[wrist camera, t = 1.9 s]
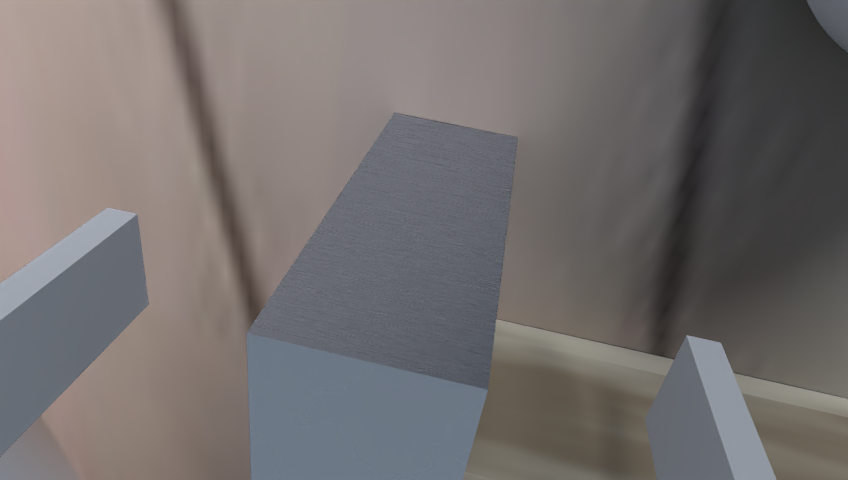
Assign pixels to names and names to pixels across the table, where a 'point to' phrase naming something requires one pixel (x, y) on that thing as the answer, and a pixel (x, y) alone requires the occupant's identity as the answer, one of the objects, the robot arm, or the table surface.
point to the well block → (624, 414)
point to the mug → (832, 19)
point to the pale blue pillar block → (387, 315)
